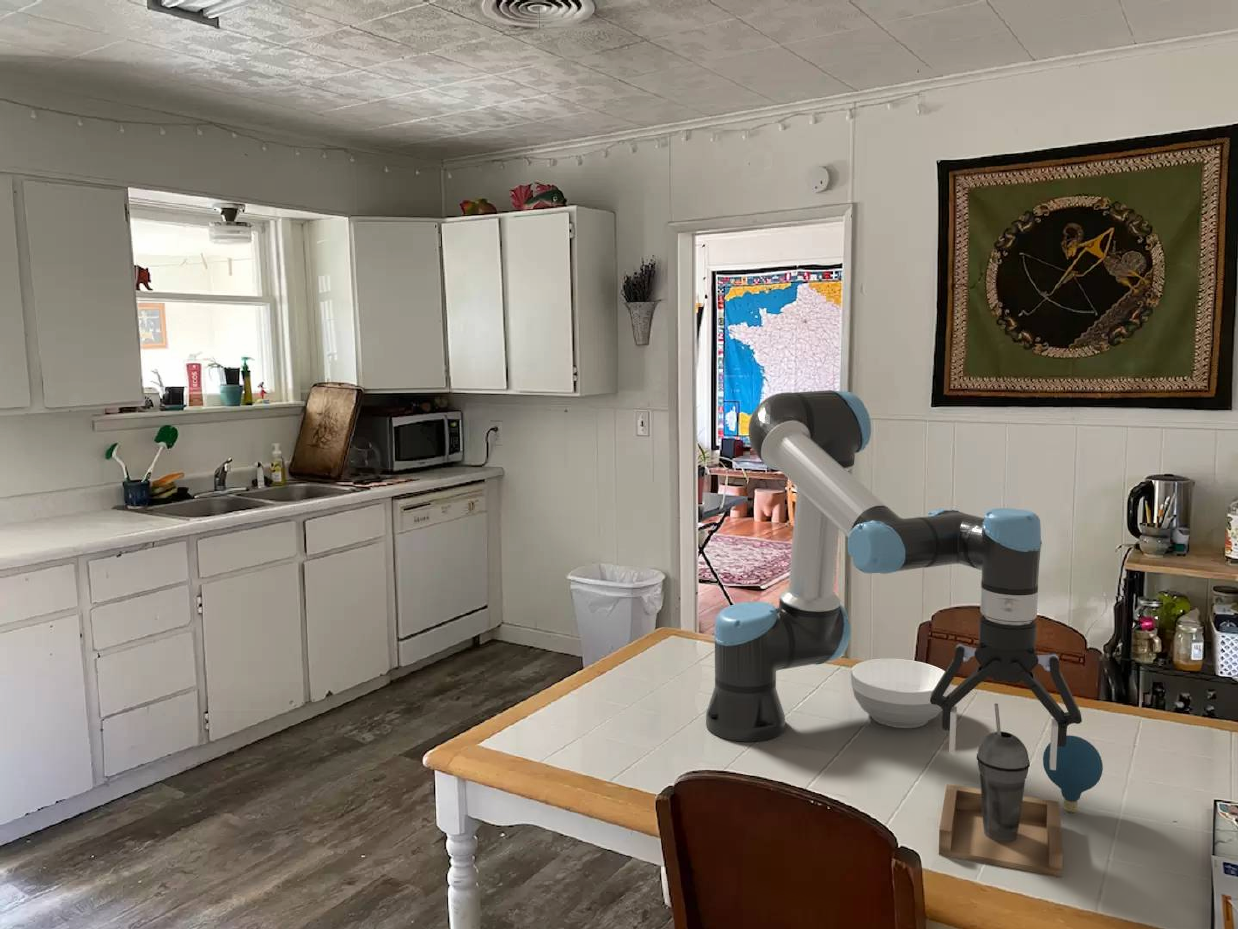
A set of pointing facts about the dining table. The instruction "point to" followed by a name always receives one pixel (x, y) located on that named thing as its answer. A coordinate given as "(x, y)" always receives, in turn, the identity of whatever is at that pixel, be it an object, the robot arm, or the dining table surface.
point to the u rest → (1028, 852)
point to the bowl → (897, 691)
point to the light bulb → (1074, 769)
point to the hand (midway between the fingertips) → (1001, 758)
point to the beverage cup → (1002, 782)
